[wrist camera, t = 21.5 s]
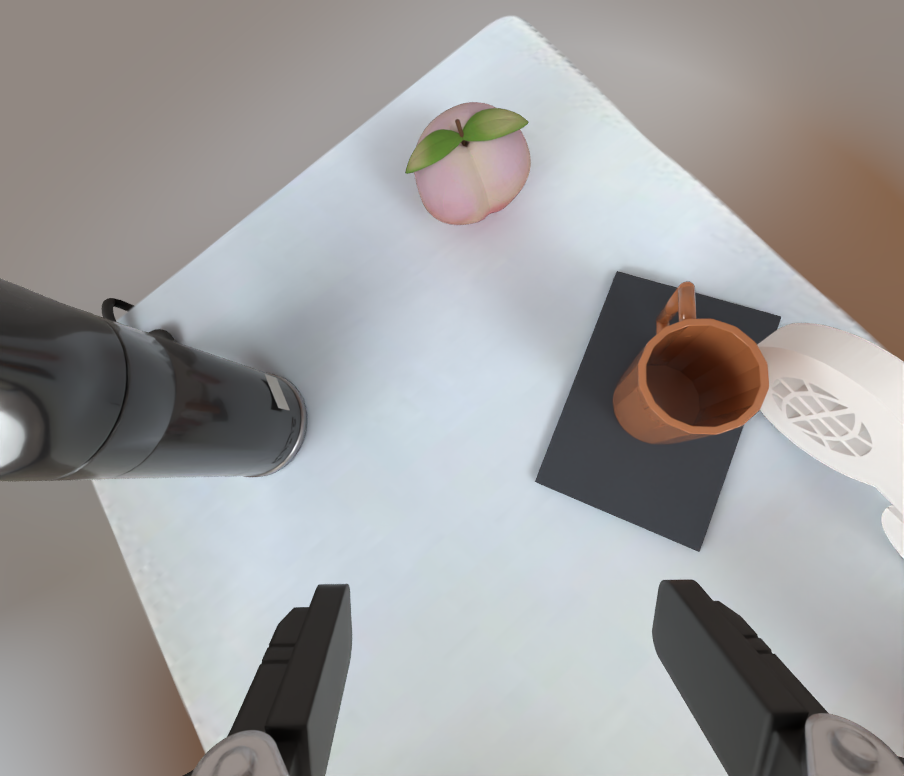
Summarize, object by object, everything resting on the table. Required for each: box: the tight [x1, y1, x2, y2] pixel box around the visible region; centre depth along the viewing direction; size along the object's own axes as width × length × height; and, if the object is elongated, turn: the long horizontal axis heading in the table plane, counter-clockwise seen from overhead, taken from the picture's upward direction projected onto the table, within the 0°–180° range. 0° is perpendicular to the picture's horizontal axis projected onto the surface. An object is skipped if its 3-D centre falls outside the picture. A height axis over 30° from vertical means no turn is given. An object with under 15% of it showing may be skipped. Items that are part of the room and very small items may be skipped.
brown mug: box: [613, 281, 769, 445], centre depth 28 cm, size 9×6×10 cm
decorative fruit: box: [405, 102, 531, 225], centre depth 34 cm, size 9×8×10 cm
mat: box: [535, 271, 781, 551], centre depth 33 cm, size 12×18×1 cm, turn 157°
